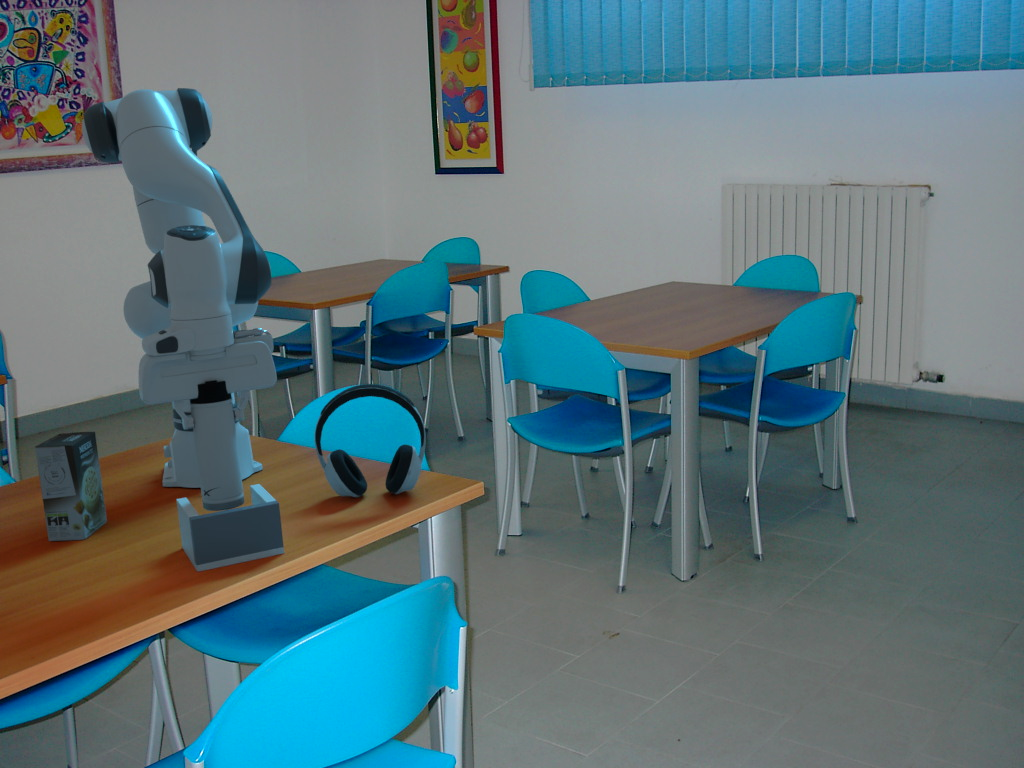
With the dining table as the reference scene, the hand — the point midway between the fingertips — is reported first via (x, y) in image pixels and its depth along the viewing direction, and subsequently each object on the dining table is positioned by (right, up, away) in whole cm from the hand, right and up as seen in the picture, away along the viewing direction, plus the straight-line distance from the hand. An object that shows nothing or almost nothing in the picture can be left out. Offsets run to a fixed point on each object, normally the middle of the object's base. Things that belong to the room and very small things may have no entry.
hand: (214, 424), depth 166 cm
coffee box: (-27, -19, +15) cm, 36 cm away
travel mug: (+1, -13, +2) cm, 13 cm away
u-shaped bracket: (+2, -20, +1) cm, 20 cm away
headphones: (+22, -14, +25) cm, 36 cm away
